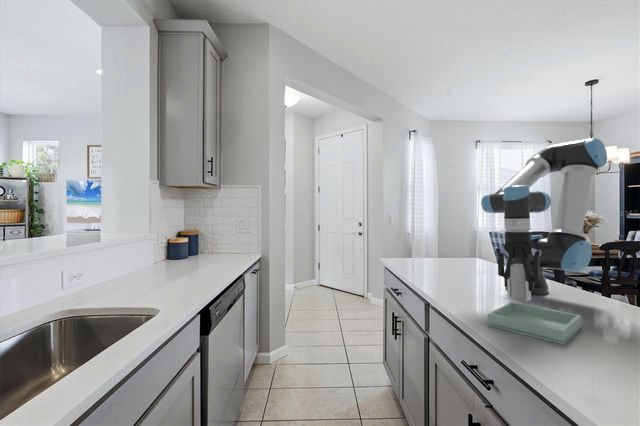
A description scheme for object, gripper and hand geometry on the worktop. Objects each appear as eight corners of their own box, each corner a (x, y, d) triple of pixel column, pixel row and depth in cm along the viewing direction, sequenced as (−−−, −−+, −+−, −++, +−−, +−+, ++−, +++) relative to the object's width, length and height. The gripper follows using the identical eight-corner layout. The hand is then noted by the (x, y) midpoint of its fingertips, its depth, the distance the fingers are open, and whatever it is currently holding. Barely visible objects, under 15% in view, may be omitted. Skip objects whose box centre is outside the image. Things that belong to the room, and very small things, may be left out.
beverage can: (530, 301, 104) (529, 265, 104) (514, 301, 105) (513, 265, 105) (524, 297, 109) (523, 263, 109) (508, 297, 110) (507, 263, 110)
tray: (511, 312, 103) (511, 302, 103) (581, 327, 89) (581, 315, 89) (488, 325, 92) (487, 313, 92) (564, 344, 78) (563, 330, 78)
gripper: (485, 230, 111) (487, 295, 112) (544, 232, 98) (547, 306, 98) (494, 229, 116) (496, 291, 116) (552, 230, 102) (554, 301, 103)
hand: (519, 298), depth 107 cm, fingers closed on beverage can, 5 cm apart
